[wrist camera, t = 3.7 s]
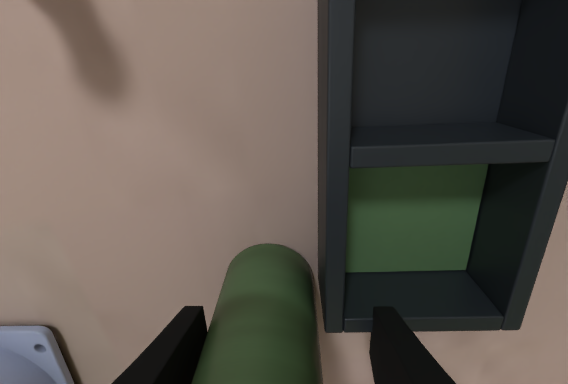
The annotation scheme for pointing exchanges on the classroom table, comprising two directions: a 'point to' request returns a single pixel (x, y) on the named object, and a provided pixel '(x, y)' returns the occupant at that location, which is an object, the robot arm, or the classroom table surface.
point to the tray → (438, 158)
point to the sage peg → (263, 322)
